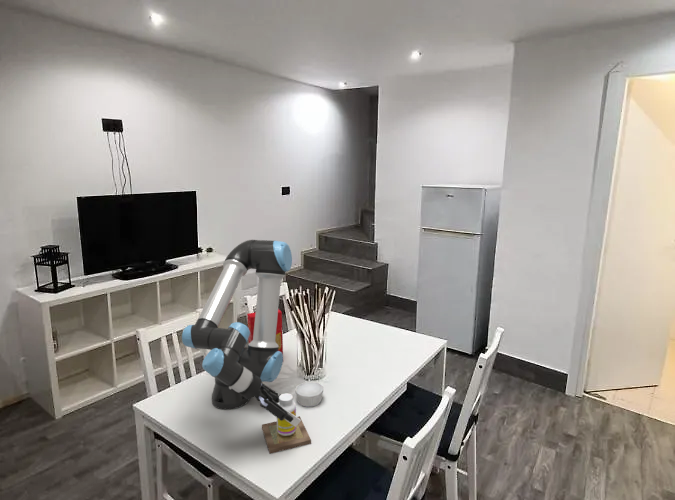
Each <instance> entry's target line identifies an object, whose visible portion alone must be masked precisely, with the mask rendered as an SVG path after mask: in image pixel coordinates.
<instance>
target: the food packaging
mask: <svg viewBox="0 0 675 500" xmlns="http://www.w3.org/2000/svg"><path fill="white" fill-rule="evenodd" d="M255 314H256V311H255V312H249V313H247V327H248V328H249V330H250V335H249V338H248V344H249V343H250V342H251V341H252V340H253V334H254V324H255ZM283 337H284V335H283V312H282V311H281V309H280V308H278V317H277V328H276V338H275V342H276V343H277V344H278V346H279V348H278V351H280V352H282V354H283V355H284V341H283Z"/></svg>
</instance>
